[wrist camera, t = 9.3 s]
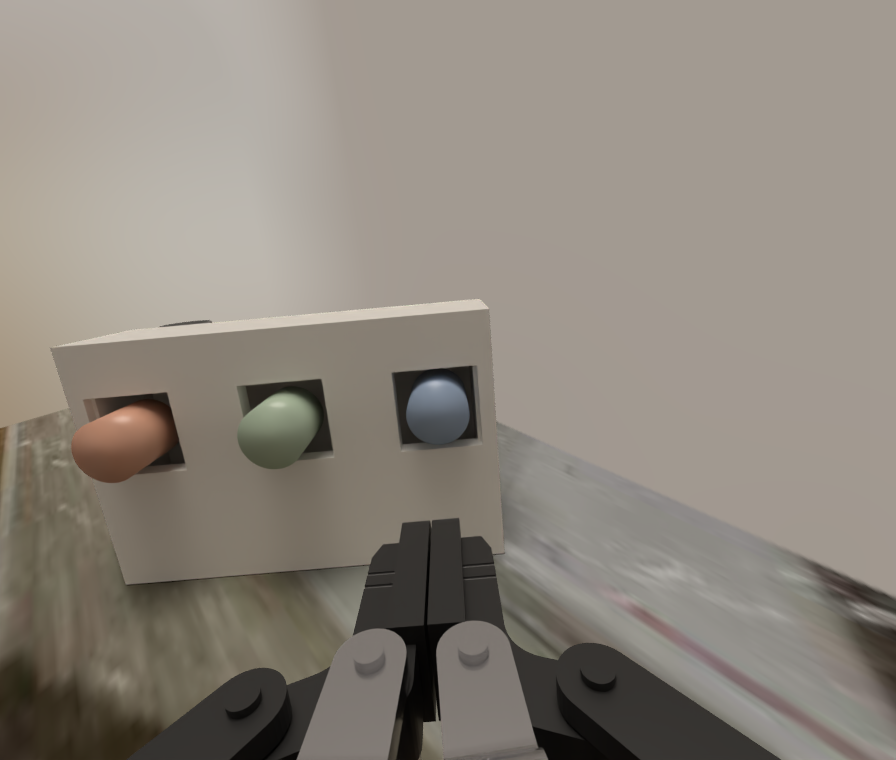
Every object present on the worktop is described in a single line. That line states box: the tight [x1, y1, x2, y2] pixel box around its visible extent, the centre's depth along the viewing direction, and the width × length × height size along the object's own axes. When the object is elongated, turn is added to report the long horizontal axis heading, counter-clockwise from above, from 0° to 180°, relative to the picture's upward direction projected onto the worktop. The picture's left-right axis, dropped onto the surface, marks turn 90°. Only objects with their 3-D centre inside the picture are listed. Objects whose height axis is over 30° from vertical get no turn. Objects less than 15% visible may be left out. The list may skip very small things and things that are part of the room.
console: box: [50, 299, 504, 585], centre depth 27 cm, size 22×6×14 cm, turn 91°
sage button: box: [237, 386, 324, 469], centre depth 23 cm, size 3×4×3 cm
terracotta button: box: [71, 399, 179, 483], centre depth 23 cm, size 3×4×3 cm
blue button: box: [406, 368, 470, 445], centre depth 24 cm, size 3×4×3 cm
